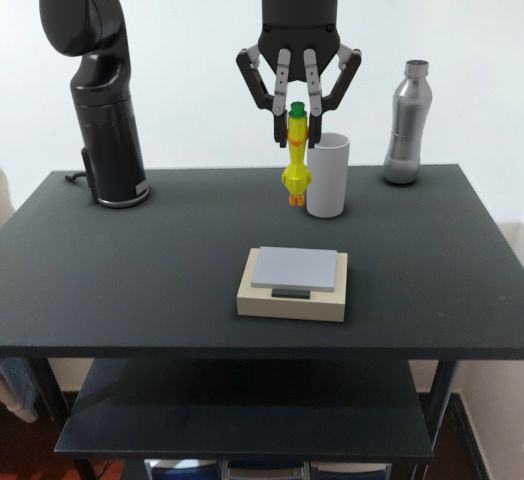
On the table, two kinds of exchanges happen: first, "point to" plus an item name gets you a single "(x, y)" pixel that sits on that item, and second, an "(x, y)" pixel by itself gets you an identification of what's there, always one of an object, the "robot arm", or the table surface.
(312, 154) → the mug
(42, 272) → the table surface
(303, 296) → the scale
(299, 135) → the toy figure
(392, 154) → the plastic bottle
